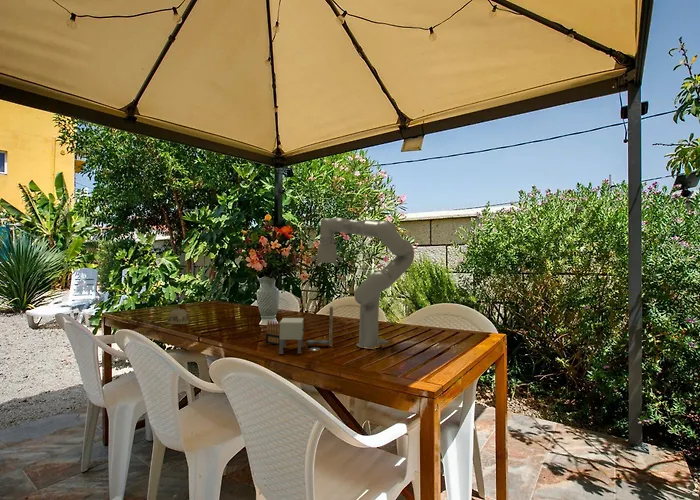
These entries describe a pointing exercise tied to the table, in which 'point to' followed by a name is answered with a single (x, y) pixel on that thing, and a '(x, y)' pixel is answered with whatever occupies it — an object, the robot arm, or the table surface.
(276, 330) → the ammunition clip
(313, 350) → the steel disc
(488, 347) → the table surface
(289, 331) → the cabinet
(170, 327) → the table surface
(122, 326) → the table surface
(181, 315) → the ceramic model
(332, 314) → the hook scraper
